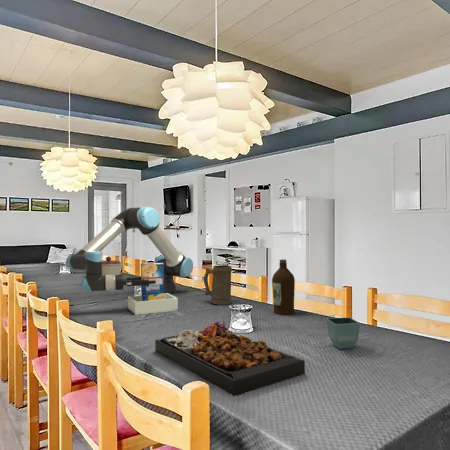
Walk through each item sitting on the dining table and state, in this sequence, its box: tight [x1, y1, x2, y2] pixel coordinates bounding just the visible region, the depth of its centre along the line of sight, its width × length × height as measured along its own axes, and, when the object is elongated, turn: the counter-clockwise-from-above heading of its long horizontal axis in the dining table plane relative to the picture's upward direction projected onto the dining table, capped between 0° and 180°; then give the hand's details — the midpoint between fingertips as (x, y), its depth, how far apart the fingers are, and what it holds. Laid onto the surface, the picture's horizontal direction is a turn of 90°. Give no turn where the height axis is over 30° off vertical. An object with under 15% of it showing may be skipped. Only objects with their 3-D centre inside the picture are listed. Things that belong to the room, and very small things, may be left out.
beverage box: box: [140, 262, 164, 301], centre depth 205 cm, size 7×11×22 cm, turn 105°
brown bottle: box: [271, 258, 296, 316], centre depth 192 cm, size 11×11×25 cm
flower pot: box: [326, 317, 361, 350], centre depth 139 cm, size 9×9×9 cm
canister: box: [102, 256, 123, 276], centre depth 281 cm, size 18×18×21 cm
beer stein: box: [203, 264, 233, 306], centre depth 218 cm, size 15×11×20 cm
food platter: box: [154, 317, 306, 397], centre depth 126 cm, size 45×25×10 cm, turn 35°
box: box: [127, 293, 179, 316], centre depth 205 cm, size 21×17×6 cm
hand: (161, 280), depth 206 cm, fingers open, 9 cm apart
